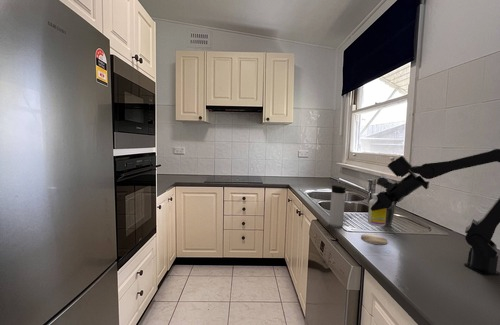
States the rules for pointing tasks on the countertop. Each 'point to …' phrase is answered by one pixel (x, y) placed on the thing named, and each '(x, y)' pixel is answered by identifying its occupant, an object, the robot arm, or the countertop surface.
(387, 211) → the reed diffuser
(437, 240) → the countertop surface
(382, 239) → the coaster
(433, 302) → the countertop surface
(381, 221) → the supplement bottle
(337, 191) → the travel mug
